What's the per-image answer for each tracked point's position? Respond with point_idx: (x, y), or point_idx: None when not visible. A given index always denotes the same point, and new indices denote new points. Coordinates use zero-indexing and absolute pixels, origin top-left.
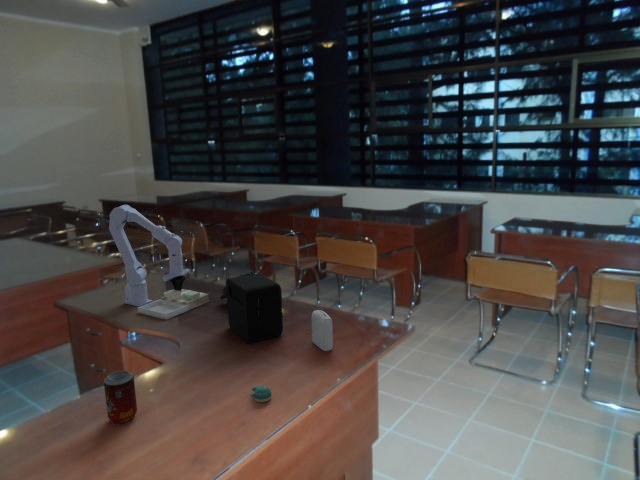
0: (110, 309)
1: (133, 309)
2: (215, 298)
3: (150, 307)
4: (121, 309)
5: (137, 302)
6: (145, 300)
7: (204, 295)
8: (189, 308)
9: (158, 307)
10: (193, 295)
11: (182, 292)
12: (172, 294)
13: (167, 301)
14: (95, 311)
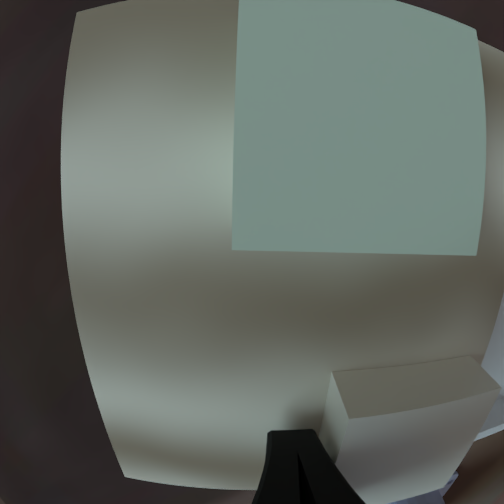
0: (482, 493)
1: (490, 448)
2: (23, 84)
3: (496, 402)
4: (486, 475)
5: (441, 497)
6: (409, 501)
7: (154, 8)
8: None
9: (489, 367)
10: (420, 16)
11: (214, 432)
12: (492, 385)
13: None
14: (496, 497)
